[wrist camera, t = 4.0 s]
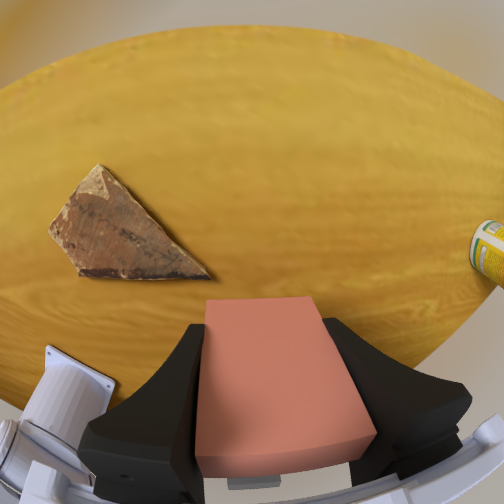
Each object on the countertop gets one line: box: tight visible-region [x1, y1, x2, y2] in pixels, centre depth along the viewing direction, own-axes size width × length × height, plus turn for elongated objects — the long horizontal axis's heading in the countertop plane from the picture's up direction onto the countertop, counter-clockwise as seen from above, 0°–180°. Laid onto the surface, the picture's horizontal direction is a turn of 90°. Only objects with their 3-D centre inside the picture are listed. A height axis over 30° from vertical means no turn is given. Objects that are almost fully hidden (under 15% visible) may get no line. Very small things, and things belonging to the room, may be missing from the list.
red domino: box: [195, 296, 377, 478], centre depth 10 cm, size 2×5×8 cm, turn 89°
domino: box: [227, 475, 281, 490], centre depth 23 cm, size 2×5×8 cm, turn 89°
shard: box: [49, 164, 211, 280], centre depth 18 cm, size 11×8×2 cm
